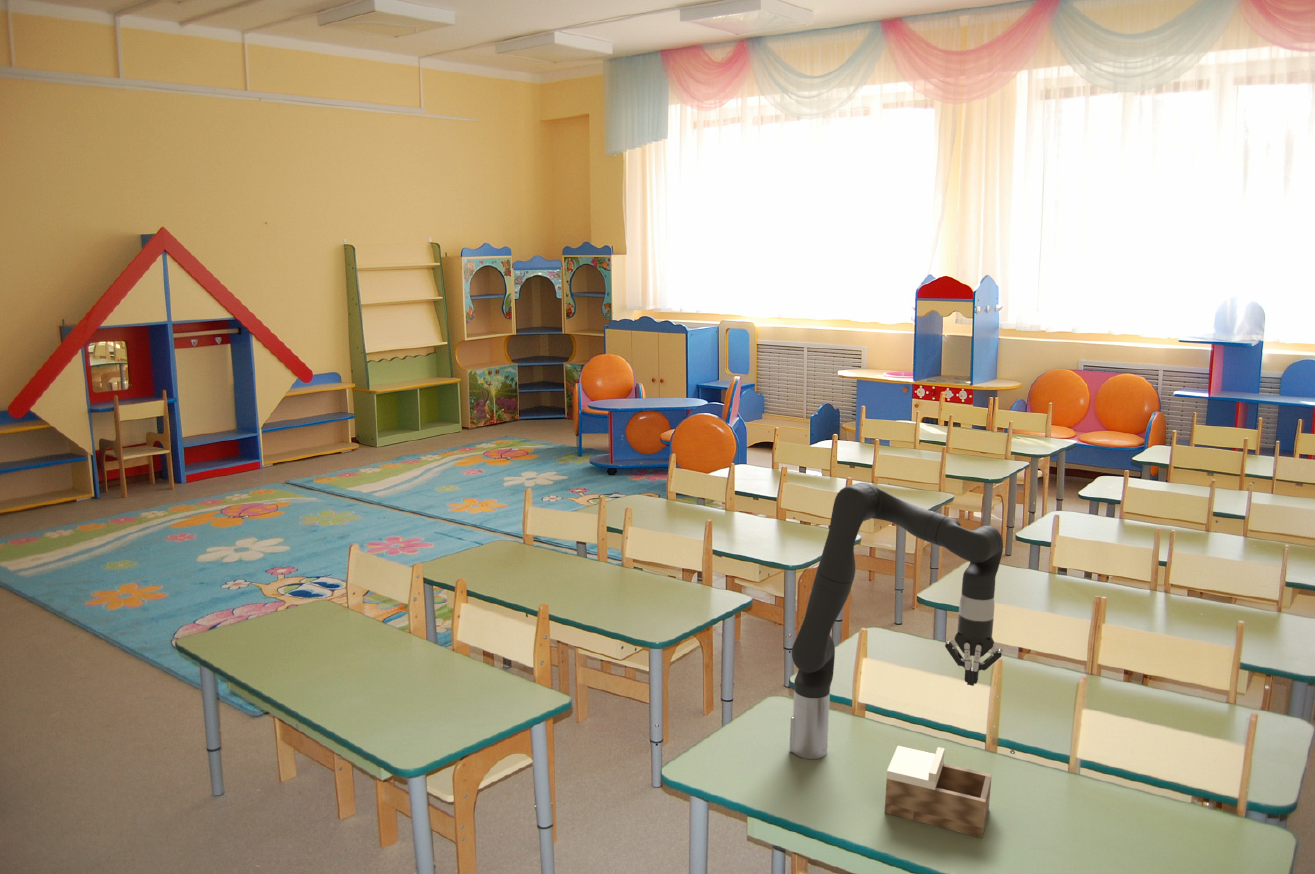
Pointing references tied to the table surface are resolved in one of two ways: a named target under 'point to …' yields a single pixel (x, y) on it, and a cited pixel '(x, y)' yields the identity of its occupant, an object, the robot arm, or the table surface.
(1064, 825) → the table surface
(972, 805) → the box
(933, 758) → the lid
